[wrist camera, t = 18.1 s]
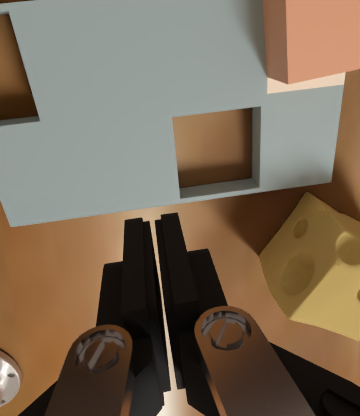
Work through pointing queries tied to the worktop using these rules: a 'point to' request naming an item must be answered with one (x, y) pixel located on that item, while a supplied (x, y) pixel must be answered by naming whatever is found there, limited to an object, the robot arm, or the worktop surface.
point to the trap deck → (150, 106)
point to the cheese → (316, 267)
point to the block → (311, 38)
